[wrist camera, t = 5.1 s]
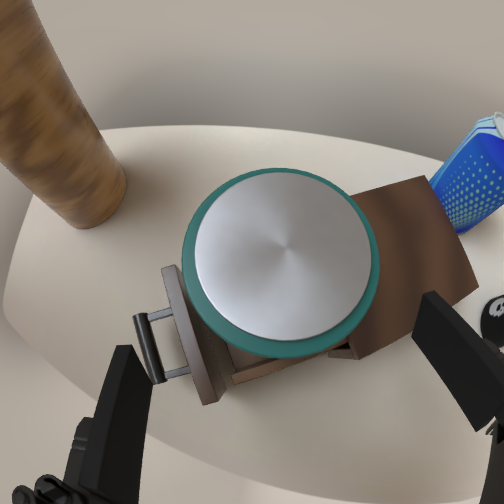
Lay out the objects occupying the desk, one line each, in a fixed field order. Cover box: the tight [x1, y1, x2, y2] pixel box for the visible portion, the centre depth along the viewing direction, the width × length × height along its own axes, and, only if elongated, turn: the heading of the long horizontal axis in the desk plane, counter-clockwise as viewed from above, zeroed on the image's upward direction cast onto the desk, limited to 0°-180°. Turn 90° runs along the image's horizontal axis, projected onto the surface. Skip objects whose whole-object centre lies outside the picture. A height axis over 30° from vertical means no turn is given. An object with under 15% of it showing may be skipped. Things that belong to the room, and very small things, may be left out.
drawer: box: [133, 264, 348, 405], centre depth 23 cm, size 17×11×6 cm, turn 109°
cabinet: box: [327, 175, 479, 360], centre depth 24 cm, size 14×12×8 cm
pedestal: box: [0, 0, 126, 229], centre depth 19 cm, size 10×10×28 cm
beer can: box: [429, 112, 504, 234], centre depth 23 cm, size 8×8×16 cm
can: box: [182, 168, 380, 359], centre depth 16 cm, size 6×6×17 cm
